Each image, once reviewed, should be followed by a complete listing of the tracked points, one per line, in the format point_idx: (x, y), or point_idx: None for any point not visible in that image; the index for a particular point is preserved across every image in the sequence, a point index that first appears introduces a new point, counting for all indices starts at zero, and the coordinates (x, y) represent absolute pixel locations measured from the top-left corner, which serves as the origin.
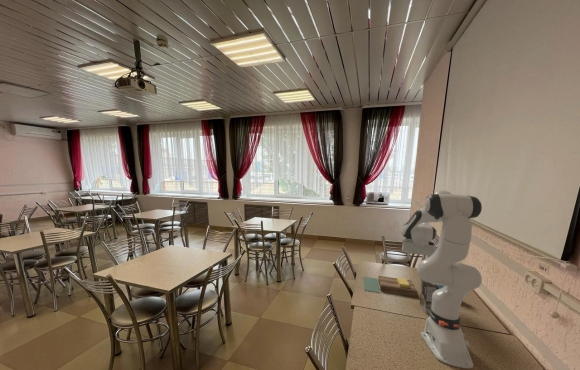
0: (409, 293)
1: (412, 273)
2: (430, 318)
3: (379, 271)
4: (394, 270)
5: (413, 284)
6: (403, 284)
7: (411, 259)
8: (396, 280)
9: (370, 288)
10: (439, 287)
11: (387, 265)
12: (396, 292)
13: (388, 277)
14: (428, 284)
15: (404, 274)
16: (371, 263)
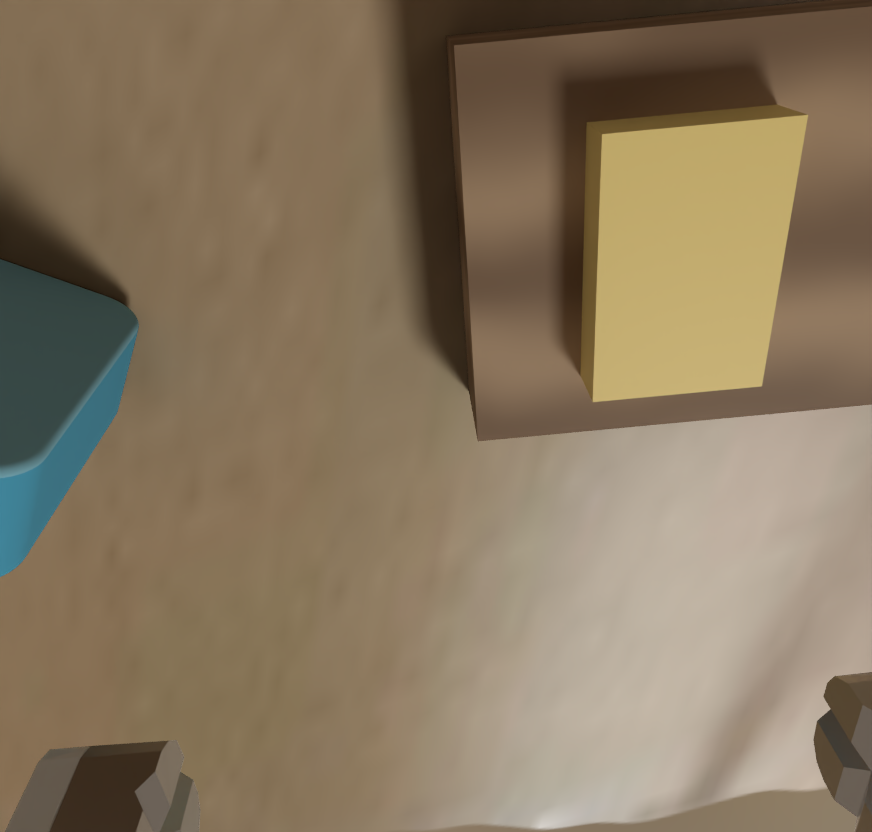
0: (581, 25)
1: (389, 720)
2: None
3: (831, 620)
4: (608, 710)
5: (472, 311)
6: (725, 120)
7: (851, 677)
8: None
9: None
10: (20, 340)
11: (666, 786)
12: (810, 2)
13: (866, 396)
14: None
15: (498, 663)
16: None
